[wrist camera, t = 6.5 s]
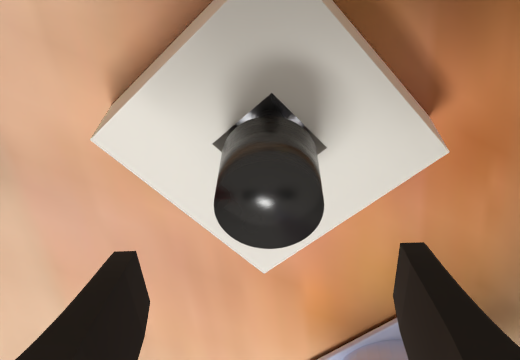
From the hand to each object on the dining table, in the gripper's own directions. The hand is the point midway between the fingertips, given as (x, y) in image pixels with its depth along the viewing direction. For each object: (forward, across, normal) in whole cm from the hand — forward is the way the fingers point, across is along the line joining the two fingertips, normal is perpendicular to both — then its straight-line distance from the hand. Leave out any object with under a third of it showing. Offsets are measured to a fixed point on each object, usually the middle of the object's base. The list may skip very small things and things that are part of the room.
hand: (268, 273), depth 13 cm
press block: (+10, 0, 0) cm, 10 cm away
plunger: (+10, 0, 0) cm, 10 cm away
